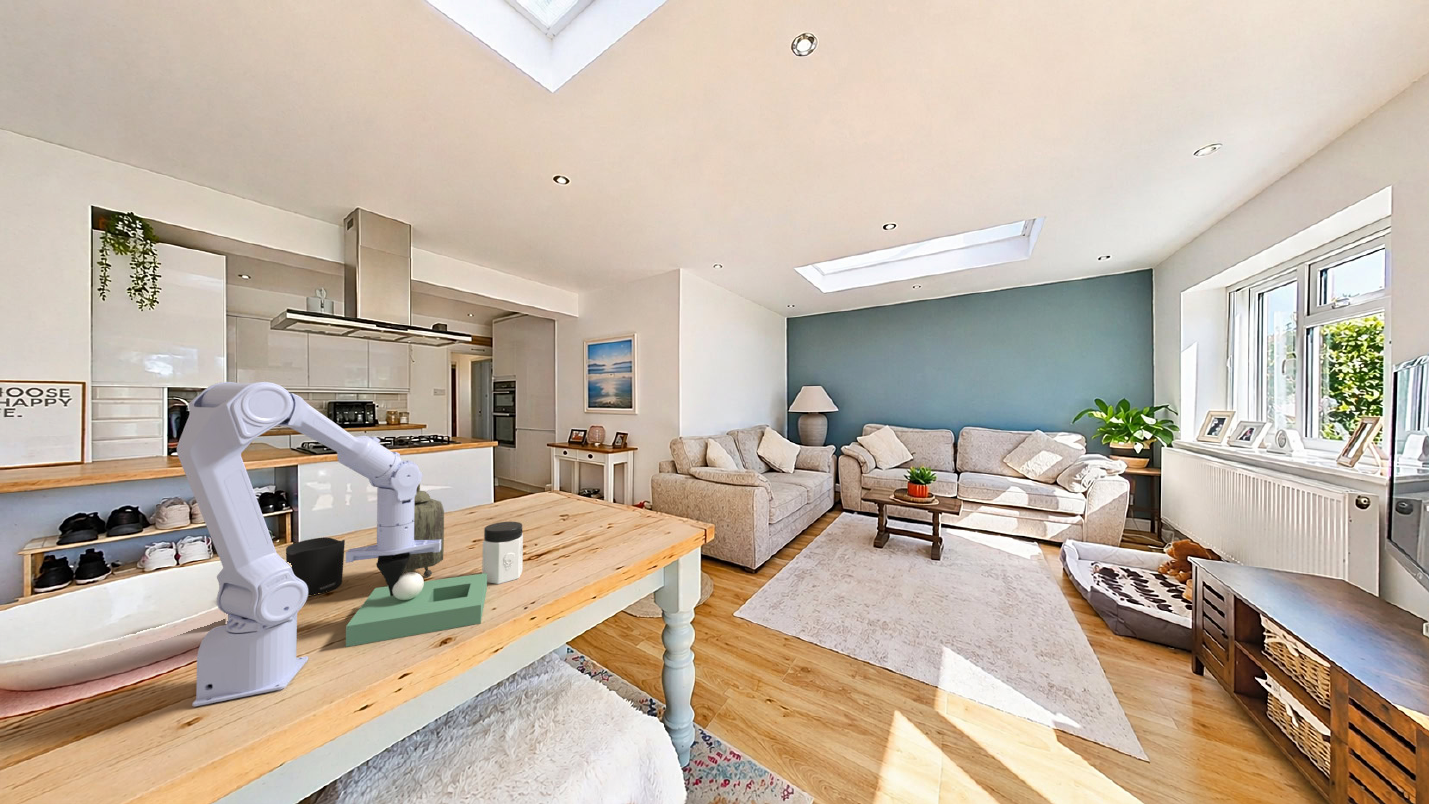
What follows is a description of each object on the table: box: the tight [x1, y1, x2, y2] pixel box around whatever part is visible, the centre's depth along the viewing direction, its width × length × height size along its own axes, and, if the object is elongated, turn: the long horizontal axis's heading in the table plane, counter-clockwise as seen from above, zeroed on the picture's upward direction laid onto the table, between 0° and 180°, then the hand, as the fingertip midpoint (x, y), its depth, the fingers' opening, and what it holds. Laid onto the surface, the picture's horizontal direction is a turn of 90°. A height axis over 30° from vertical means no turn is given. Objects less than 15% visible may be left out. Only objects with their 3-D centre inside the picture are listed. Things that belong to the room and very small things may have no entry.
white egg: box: [392, 571, 424, 600], centre depth 82 cm, size 5×5×5 cm
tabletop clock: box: [403, 483, 445, 578], centre depth 100 cm, size 14×9×25 cm, turn 37°
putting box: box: [345, 573, 488, 648], centre depth 83 cm, size 20×16×4 cm
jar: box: [481, 521, 524, 585], centre depth 102 cm, size 9×8×12 cm
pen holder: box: [285, 536, 346, 596], centre depth 94 cm, size 9×9×10 cm
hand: (395, 593), depth 82 cm, fingers closed, pressing on white egg
